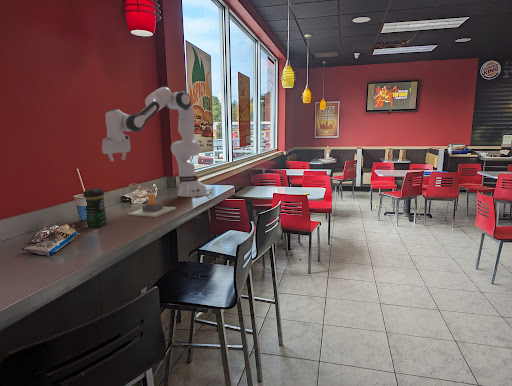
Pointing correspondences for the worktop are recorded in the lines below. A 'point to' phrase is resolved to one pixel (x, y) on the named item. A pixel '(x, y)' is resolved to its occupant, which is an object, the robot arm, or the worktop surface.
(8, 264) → the worktop surface
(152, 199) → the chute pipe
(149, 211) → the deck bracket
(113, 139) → the robot arm
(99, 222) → the coffee jar
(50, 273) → the worktop surface
